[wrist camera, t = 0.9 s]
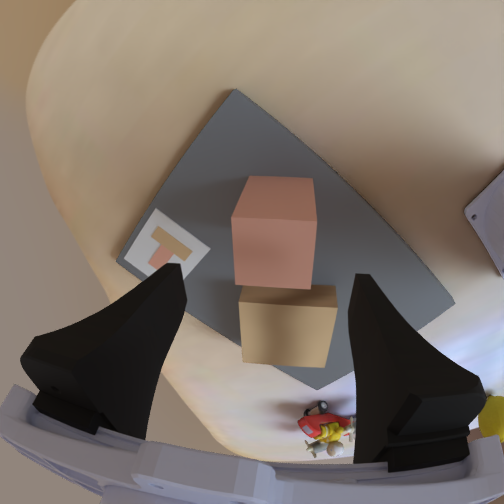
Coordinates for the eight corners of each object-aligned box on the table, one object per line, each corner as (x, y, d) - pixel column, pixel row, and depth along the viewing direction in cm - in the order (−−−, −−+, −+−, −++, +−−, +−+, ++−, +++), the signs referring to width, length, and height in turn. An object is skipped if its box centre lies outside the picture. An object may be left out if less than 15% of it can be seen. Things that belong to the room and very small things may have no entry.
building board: (452, 297, 24) (455, 304, 23) (317, 384, 32) (316, 391, 31) (236, 88, 18) (233, 89, 17) (119, 256, 26) (114, 262, 25)
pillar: (312, 178, 19) (317, 221, 14) (309, 233, 22) (310, 289, 17) (249, 175, 20) (231, 217, 15) (250, 230, 22) (235, 284, 17)
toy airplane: (297, 398, 34) (294, 446, 29) (374, 390, 32) (379, 438, 27) (307, 430, 39) (304, 470, 34) (372, 423, 37) (374, 464, 31)
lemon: (499, 399, 32) (512, 442, 26) (469, 410, 34) (480, 455, 27) (509, 380, 30) (525, 426, 23) (477, 392, 31) (491, 441, 24)
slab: (335, 285, 24) (337, 307, 22) (324, 345, 27) (324, 367, 25) (244, 280, 25) (238, 301, 22) (247, 341, 28) (242, 362, 26)
